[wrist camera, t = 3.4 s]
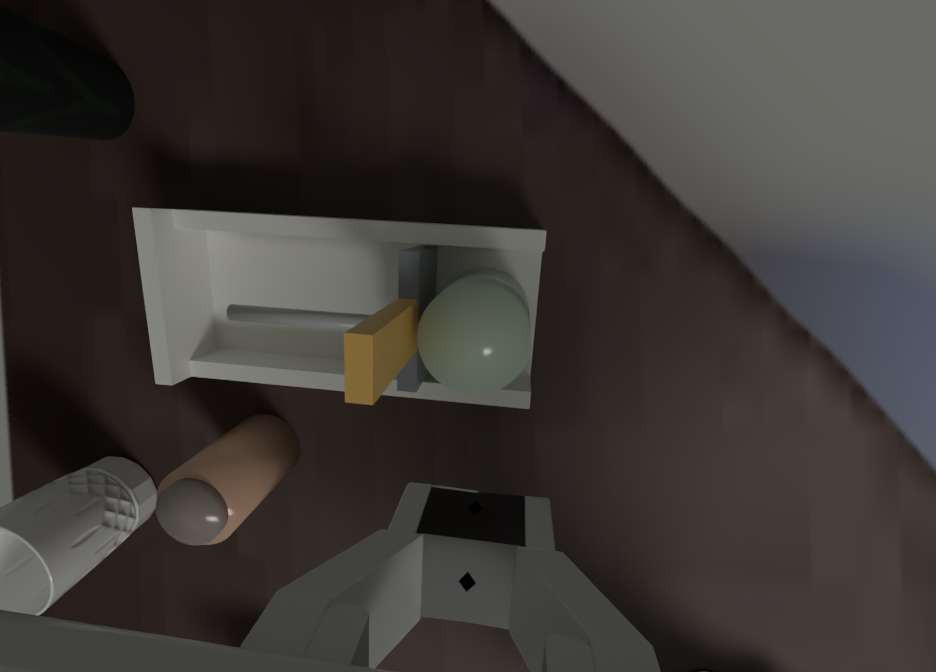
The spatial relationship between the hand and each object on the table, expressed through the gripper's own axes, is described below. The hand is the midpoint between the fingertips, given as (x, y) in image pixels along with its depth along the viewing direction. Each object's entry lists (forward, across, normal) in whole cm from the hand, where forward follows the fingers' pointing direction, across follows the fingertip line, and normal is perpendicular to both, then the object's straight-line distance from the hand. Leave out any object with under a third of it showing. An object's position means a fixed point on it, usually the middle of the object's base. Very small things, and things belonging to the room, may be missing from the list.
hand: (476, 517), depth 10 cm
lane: (+23, +10, 0) cm, 26 cm away
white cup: (+24, +33, +19) cm, 45 cm away
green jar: (+22, +2, 0) cm, 22 cm away
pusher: (+22, +11, 0) cm, 24 cm away
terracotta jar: (+24, +19, +13) cm, 33 cm away
